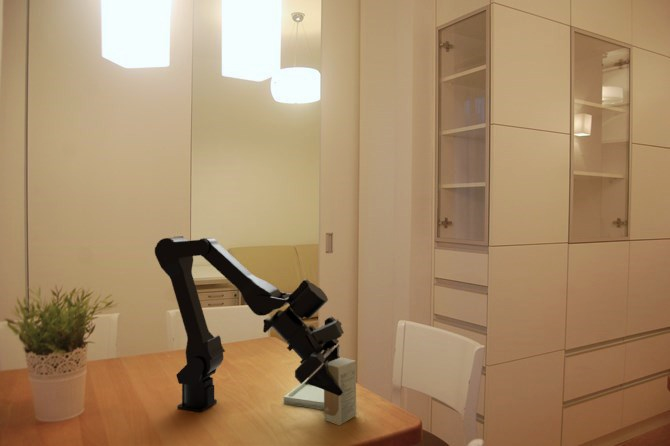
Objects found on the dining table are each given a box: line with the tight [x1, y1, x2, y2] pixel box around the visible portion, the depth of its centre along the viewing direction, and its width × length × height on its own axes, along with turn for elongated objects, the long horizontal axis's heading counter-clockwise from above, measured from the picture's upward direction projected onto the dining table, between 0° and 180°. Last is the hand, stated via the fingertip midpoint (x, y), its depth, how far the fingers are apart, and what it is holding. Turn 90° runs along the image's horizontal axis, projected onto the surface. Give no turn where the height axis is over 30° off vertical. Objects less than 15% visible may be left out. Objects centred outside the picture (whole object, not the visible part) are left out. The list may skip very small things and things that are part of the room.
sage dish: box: [283, 379, 324, 411], centre depth 111 cm, size 12×12×2 cm
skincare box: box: [323, 356, 357, 426], centre depth 100 cm, size 6×4×12 cm
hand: (345, 386), depth 100 cm, fingers open, 9 cm apart
